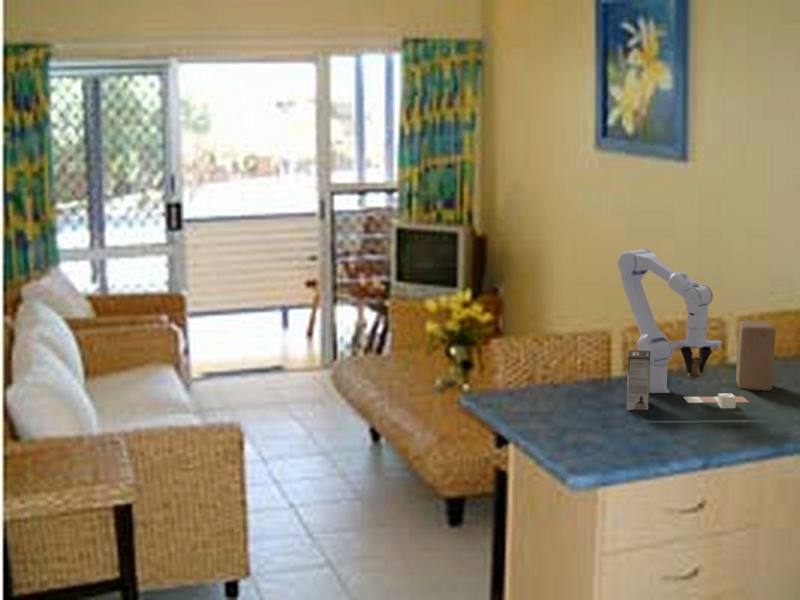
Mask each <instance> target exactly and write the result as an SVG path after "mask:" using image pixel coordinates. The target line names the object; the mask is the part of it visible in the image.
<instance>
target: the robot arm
mask: <svg viewBox="0 0 800 600" xmlns="http://www.w3.org/2000/svg"><path fill="white" fill-rule="evenodd" d="M617 266H618V268H619V273H620V278H621V279H620V280H621V281H620V282H621V285H622V288H623V290H624V293H625V297H626V298H627V302H628V303H629V306H630V309H631V312H632V315H633V317H634V320H635V324H636V326H637V328H638V330H639V334H640V337H639V338H638V340H637V341H636V344H637V348H638V350H641V351H650V352H651V363H650V388H649V394H650V393H651V394H657V393H661V394H663V393H664V394H665V393H666V394H668V393H671V391H670V390H669V389H668V388H667V383H668V382H667V380H668V363H669V362H670V359H671V358H672V357H673V355H674V350H675V349H679V350H680V352H681V354H682V355H681V356H682V357H683V360H684V365H685V368H686V372H687V374H689V373H691V358H692V357H693V353H694V352H693V351H692V349H698V358H699V359H700V374H703V372H704V369H705V366H706V363H707V361H708V359H709V357H710V356H711V354H712V352H713V351H712V349H722V341H720V340H709V339H707V335H708V334H707V333H708V314H709V312H708V311H709V304H711V303H712V301H713V299H714V298H713V297H714V295H713V292H712V290H711V288H710V287H709V286H708V285H707V284H705V285H704V284H703V285H700V284H699V282H697V281H694V280H692V279H691V278H690V277H688V276H687V275H688V274H687V273H686V272H681V271H679V272H675V271H674V270H673V269H671V268H670V267H669V266H668V265H666V264H665V263H664V262H663V261H661V260H660V259H659V258H658V257H657V255H656V253H654V252H652V251H651V250H650V249H649V248H642V249H637V250H630V251H628V250H626V251H625V250H624V251H623V252H622V253H621V254H620V255H619V258H618V260H617ZM649 271H650V272H651V273H653V274H655V275H656V276H658V277H659V278H661V279H662V280H664V281H665V282H667V283H668V288H669V289H670V290H672V291H673V292H675V294H677V295H679V296H680V297H681V298H683V301H684V303H685V305H686V312H687V314H686V315H687V318H686V319H687V320H686V335H685V337H686V338H685V339H683V340H671V341H670V340H669V339H668V337H667V335H666V333H664V332H663V331H661V330H660V329H659V328H658V325H657V323H656V320H655V317H654V315H653V312H652V308H651V306H650V303H649V301H648V297H647V296H646V293H645V291H644V288H643V285H642V280H643V278H644V277H645V275H647V273H648V272H649Z"/></svg>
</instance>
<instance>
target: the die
mask: <svg viewBox="0 0 800 600" xmlns="http://www.w3.org/2000/svg"><path fill="white" fill-rule="evenodd" d="M717 397H718V403H717V405H718V406H719V407H720V408H721V409H736V406H737V402H736V397H737V396H735V395H734V394H733V393H731V392H729V393H727V392H726V393H717Z"/></svg>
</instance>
